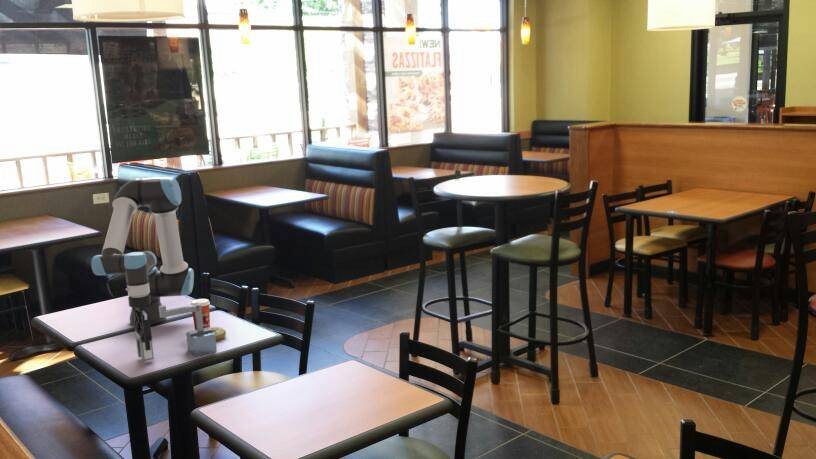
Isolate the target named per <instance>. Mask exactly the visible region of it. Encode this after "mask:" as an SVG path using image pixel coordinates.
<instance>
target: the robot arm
mask: <svg viewBox="0 0 816 459" xmlns="http://www.w3.org/2000/svg"><path fill="white" fill-rule="evenodd" d="M182 198H183V197H182V191H181V187H180V185H179V182H178V181H177V180H176V178H174V177H172V176H169V177H168V176H159V177H144V178H143V177H137V178H133V179H131V180H129V181H127V182H126V183H124V184H123V185H122V186H121V187H120V189H118V190H117V192H116V193H115V196H114V197H113V199H112V204H111V206H112V208H113V211H112V213H111V218H110V221H109V225H108V229H107V233H106V236H105V240H104V243H103V245H102V246H103V247H102V249H101V253H100V254H97V255H94V256H93V257H92V258H91V270H92V274H94V275H95V276H112V275H113V276H114V275H125V281H126V288H125V291H127V295H128V297H127V298H128V307H130V308H131V309H130V314H129V324H130V325H132V326H134V332H135V331H136V330H141V331H142V336H143V341H141V342H143V351H144V359H148V358H152V348H151V340H152V341H153V337H152V328H151V325H156V324H159V323H162V322H164V321H165V320H167V317H164V318H161V317H160V313H159V306H163V303H162V302H161V298H165V297H182V296H189V295H191V294H192V291H193V288H194V284H195V283H194V282H195V281H194V280H195V273H194V272H195V271H194V269H193V268H191V267H189V264H188V262H186V261H185V260H184V256H183V251H182V250H183V249H182V243H181V238H180V230H179V224H178V219H177V214H176V212H177V210H178V209H179V205H180V204H181V203H182V201H183V200H182ZM141 207H148V210H149V213H151V214H152V215H153V216H154V221H155V227H156V234H157V239H158V245H159V250H160V254H161V261H162V265H161V266H160V267H159V268H158V267H157V266H156V265H157V263H158V259H157V256H156V255H155V253H154V252H152V251H151V250H144V251H132V252H128V253H124V251H125V247H126V244H127V240H128V236H129V232H130V229H131V224H132V221H133V217H134V214H135V213H136V212H137V211H138V208H141ZM158 269H159V270H158Z"/></svg>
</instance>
